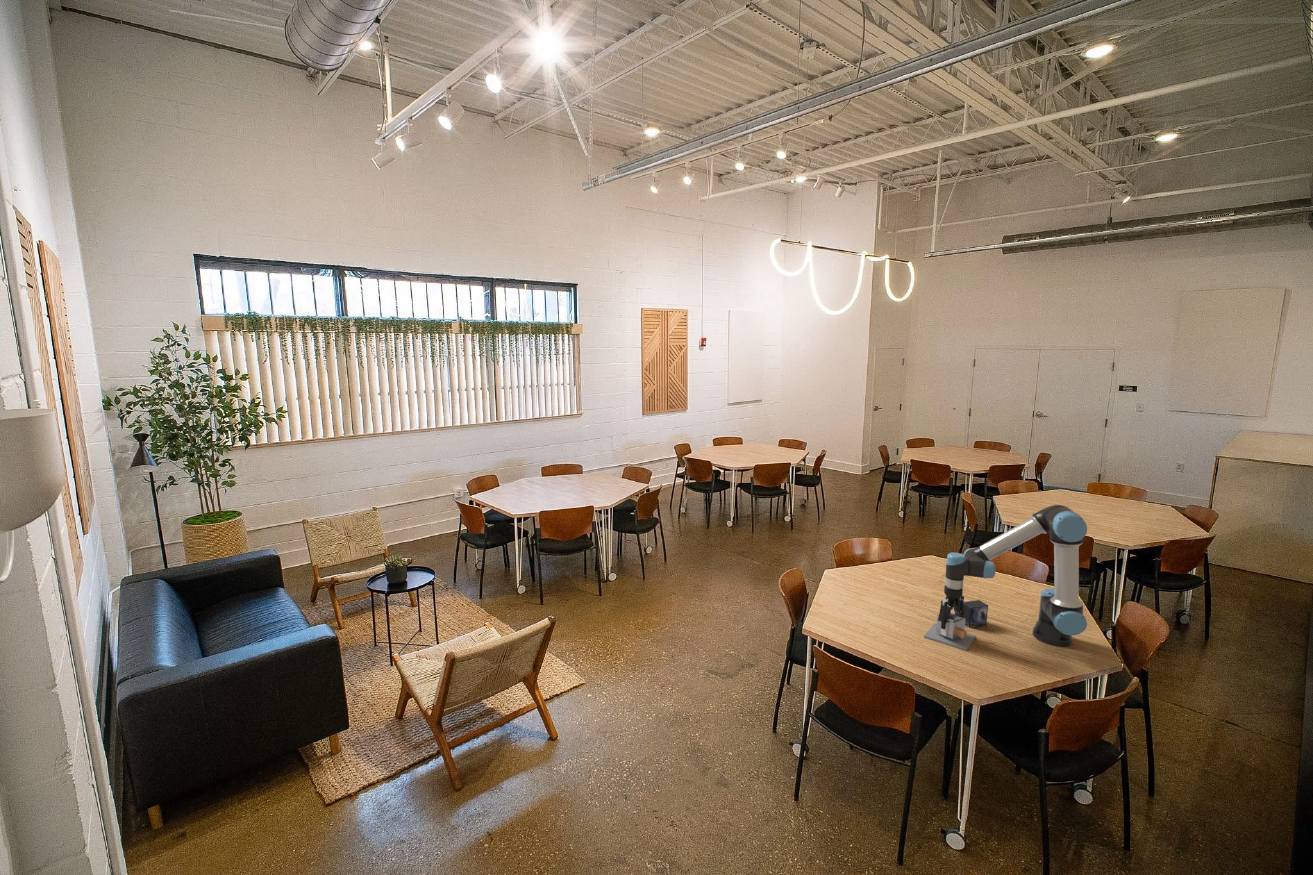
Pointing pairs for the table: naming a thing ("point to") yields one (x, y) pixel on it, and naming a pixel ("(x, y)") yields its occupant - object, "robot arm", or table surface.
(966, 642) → the grey base with peg
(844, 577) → the table surface
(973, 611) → the small box
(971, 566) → the robot arm
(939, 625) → the collar
